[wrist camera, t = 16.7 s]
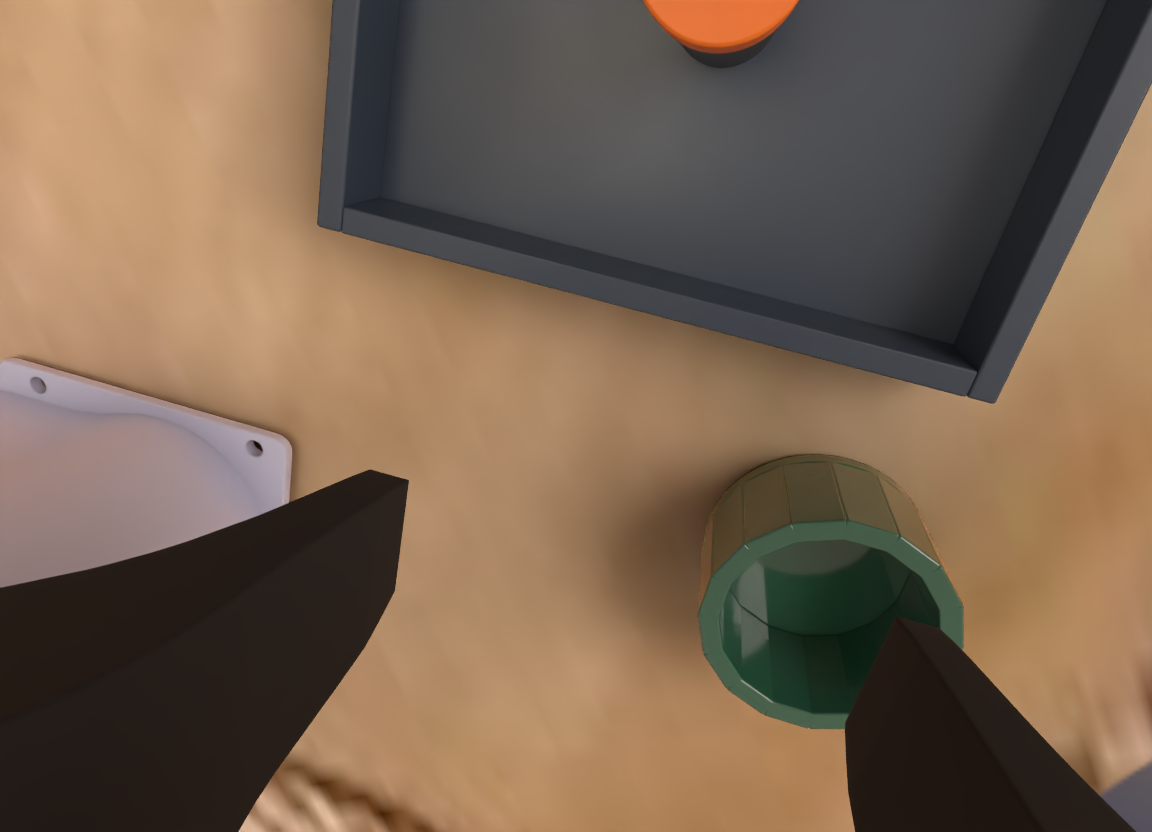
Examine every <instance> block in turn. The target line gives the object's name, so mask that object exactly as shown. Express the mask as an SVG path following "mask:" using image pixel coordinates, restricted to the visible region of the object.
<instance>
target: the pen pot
mask: <svg viewBox="0 0 1152 832" xmlns="http://www.w3.org/2000/svg"><path fill="white" fill-rule="evenodd" d="M962 604H963V603H962V601H961V599H960V597H959V595H958V593H957V590H956V588H955V586H954V584H953V582H952V580H951V578H950V575H949V573H948V571H947V569H946V567H945V565H944V563H943V560H942V558H941V556H940V554H939V552H938V550H937V548H936V545H935V543H934V541H933V539H932V537H931V535H930V533H929V531H928V529H927V527H926V526H925V524H924V522H923V520H922V518H921V516H920V514H919V512H918V509H917V508H916V506H915V505H914V503H913V502H912V500H911V499H910V497H909V496H908V495H907V494H906V493H905V492H904V490H903V489H902V488H901V487H900V486H899V485H897V484H896V483H895V482H894V481H893V480H892V479H890V478H889V477H887V476H886V475H884V474H883V473H881V472H880V471H878V470H876V469H874V468H872V467H870V466H868V465H866V464H863V463H860V462H857V461H854V460H851V459H847V458H842V457H837V456H830V455H800V456H793V457H787V458H784V459H780V460H776V461H773V462H770V463H768V464H765V465H763V466H760V467H759V468H757V469H755V470H753V471H751V472H749V473H748V474H746V475H745V476H743V477H742V478H741V479H739V480H738V481H737V482H735V483H734V484H733V485H732V486H731V487H730V488H729V489H728V490H727V491H726V492H725V493H724V495H723V496H722V497H721V498H720V500H719V501H718V503H717V504H716V506H715V508H714V509H713V511H712V513H711V516H710V518H709V520H708V523H707V527H706V531H705V537H704V542H703V545H702V554H701V570H700V585H699V601H698V622H699V629H700V636H701V643H702V650H703V653H704V656H705V657H706V659H707V660H708V662H709V663H710V665H711V666H712V668H713V669H714V671H715V672H716V674H717V675H718V677H719V678H720V680H721V681H722V683H723V684H724V686H725V687H726V688H727V689H728V690H729V691H730V692H731V693H733V694H734V695H736V696H737V697H739V698H740V699H741V700H743V701H744V702H746V703H747V704H748V705H750V706H751V707H753V708H754V709H756V710H757V711H758V712H760V713H761V714H764V715H765V716H768V717H771V718H775V719H778V720H781V721H785V722H788V723H791V724H794V725H798V726H801V727H804V728H809V727H810V729H845V722H846V720H847V718H848V716H849V713H850V711H851V709H852V707H853V705H854V703H855V701H856V699H857V697H858V695H859V692H860V690H861V688H862V686H863V684H864V682H865V680H866V678H867V676H868V674H869V671H870V669H871V667H872V665H873V663H874V661H875V659H876V657H877V655H878V653H879V650H880V648H881V646H882V644H883V642H884V640H885V638H886V636H887V634H888V632H889V629H890V627H891V625H892V623H893V621H894V619H895V617H896V616H897V617H900V618H904V619H907V620H911V621H915V622H918V623H922V624H925V625H929V626H933V627H936V628H940V629H941V630H942V631H943V632H944V633H945V634H946V635H947V636H948V637H950V638H951V639H952V640H953V641H954V642H955V643H956V644H957V645H958V646H959V647H960V649H961V650H962V649H963V646H964V607H963V605H962Z"/></svg>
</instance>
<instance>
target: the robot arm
mask: <svg viewBox="0 0 1152 832" xmlns="http://www.w3.org/2000/svg"><path fill="white" fill-rule="evenodd" d="M41 379H42V380H41ZM42 381H43V382H44V383H45V385H44V384H43V383H42ZM45 386H46V387H45ZM254 440H255V441H256V442H258V443H259V444H260V445H261V446H262V450H263V451H261V450H259V449H257V447H256V446H255V445H254ZM291 467H292V447H291V445H290V443H289V441H288V440H287V439H286V438H285V437H284V436H282V435H280V434H278V433H274V432H271V431H268V430H264V429H261V428H257V427H254V426H250V425H247V424H243V423H240V422H237V421H233V420H230V419H226V418H223V417H219V416H216V415H212V414H209V413H205V412H202V411H199V410H195V409H192V408H188V407H185V406H181V405H178V404H174V403H171V402H168V401H164V400H161V399H157V398H154V397H150V396H147V395H143V394H140V393H136V392H133V391H130V390H126V389H123V388H119V387H116V386H112V385H109V384H105V383H102V382H99V381H95V380H92V379H88V378H85V377H81V376H78V375H74V374H71V373H67V372H64V371H61V370H57V369H54V368H50V367H47V366H43V365H40V364H36V363H33V362H30V361H26V360H23V359H19V358H14V357H10V358H8V359H5V360H2V361H0V832H238V831H239V829H240V828H241V826H242V824H243V823H244V821H245V819H246V817H247V816H248V814H249V812H250V811H251V809H252V807H253V805H254V804H255V802H256V801H257V799H258V798H259V796H260V795H261V793H262V792H263V790H264V788H265V787H266V785H267V784H268V782H269V781H270V779H271V778H272V776H273V775H274V773H275V772H276V770H277V769H278V768H279V766H280V765H281V763H282V762H283V761H284V759H285V758H286V757H287V755H288V754H289V752H290V751H291V750H292V748H293V747H294V745H295V744H296V743H297V741H298V740H299V739H300V737H301V736H302V734H303V733H304V732H305V730H306V729H307V727H308V726H309V725H310V723H311V722H312V721H313V719H314V718H315V716H316V715H317V714H318V712H319V711H320V709H321V708H322V707H323V705H324V704H325V702H326V701H327V700H328V698H329V697H330V696H331V694H332V693H333V691H334V690H335V689H336V687H337V686H338V684H339V683H340V682H341V680H342V679H343V677H344V676H345V675H346V673H347V672H348V670H349V669H350V667H351V666H352V665H353V663H354V662H355V660H356V659H357V658H358V656H359V655H360V653H361V652H362V650H363V649H364V647H365V646H366V644H367V642H368V640H369V639H370V637H371V635H372V633H373V631H374V630H375V628H376V626H377V624H378V622H379V620H380V618H381V617H382V615H383V613H384V611H385V609H386V607H387V605H388V603H389V601H390V599H391V597H392V595H393V593H394V592H395V585H396V577H397V569H398V562H399V554H400V546H401V538H402V530H403V522H404V515H405V507H406V499H407V491H408V483H409V480H406V479H402V478H399V477H395V476H392V475H388V474H384V473H381V472H377V471H374V470H368V471H365V472H362V473H359V474H357V475H354V476H352V477H349V478H347V479H344V480H342V481H339V482H337V483H335V484H332V485H330V486H328V487H325V488H323V489H321V490H318V491H316V492H314V493H311V494H309V495H307V496H304V497H302V498H299V499H297V500H295V501H292V502H290V503H289V498H290V483H291ZM845 740H846V764H847V779H848V793H849V799H850V805H851V811H852V816H853V821H854V827H855V832H1136V831H1135V830H1134V829H1133V828H1132V827H1131V826H1130V825H1129V824H1128V823H1127V822H1126V821H1125V820H1124V819H1123V818H1122V817H1121V816H1119V814H1117V812H1115V811H1114V810H1113V809H1112V808H1111V807H1110V806H1109V805H1108V804H1107V803H1106V802H1105V801H1104V800H1103V799H1102V798H1101V797H1100V796H1099V795H1098V794H1097V793H1096V792H1095V791H1094V790H1093V789H1092V788H1091V787H1090V786H1089V785H1088V784H1087V783H1086V782H1085V781H1084V780H1083V779H1082V778H1081V777H1080V776H1079V775H1078V774H1077V773H1076V772H1075V771H1074V770H1073V769H1072V768H1071V767H1070V766H1069V765H1068V763H1067V762H1066V761H1065V760H1064V759H1063V758H1062V757H1061V756H1060V755H1059V754H1058V753H1057V752H1056V751H1055V750H1054V749H1053V748H1052V747H1051V746H1050V745H1049V744H1048V743H1047V742H1046V740H1045V739H1044V738H1043V737H1042V736H1041V735H1040V734H1039V733H1038V732H1037V731H1036V730H1035V729H1034V728H1033V727H1032V725H1031V724H1030V723H1029V722H1028V721H1027V720H1026V719H1025V718H1024V717H1023V716H1022V715H1021V714H1020V712H1019V711H1018V710H1017V709H1016V708H1015V707H1014V706H1013V705H1012V704H1011V703H1010V702H1009V700H1008V699H1007V698H1006V697H1005V696H1004V695H1003V694H1002V693H1001V692H1000V691H999V690H998V688H997V687H996V686H995V685H994V684H993V683H992V682H991V681H990V680H989V679H988V677H987V676H986V675H985V674H984V673H983V672H982V671H981V670H980V669H979V668H978V667H977V666H976V664H975V663H974V662H973V661H972V660H971V659H970V658H969V657H968V656H967V655H966V654H965V653H964V652H963V651H962V650H961V649H960V647H959V646H958V645H957V644H956V643H955V642H954V641H953V640H952V639H951V638H950V637H948V636H947V635H946V634H945V633H944V632H943V631H942V630H941V629H940V628H936V627H933V626H929V625H925V624H922V623H918V622H915V621H911V620H907V619H904V618H900V617H897V616H896V617H895V619H894V621H893V623H892V625H891V627H890V629H889V632H888V634H887V636H886V638H885V640H884V642H883V644H882V646H881V648H880V650H879V653H878V655H877V657H876V659H875V661H874V663H873V665H872V667H871V669H870V671H869V674H868V676H867V678H866V680H865V682H864V684H863V686H862V688H861V690H860V692H859V695H858V697H857V699H856V701H855V703H854V705H853V707H852V709H851V711H850V713H849V716H848V718H847V720H846V722H845Z"/></svg>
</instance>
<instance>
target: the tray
mask: <svg viewBox="0 0 1152 832" xmlns="http://www.w3.org/2000/svg"><path fill="white" fill-rule="evenodd" d="M1151 84H1152V0H799V2H798V3H797V5H796V6H795V8H794V9H793V11H792V12H791V13H790V15H789V16H788V17H787V18H786V20H785V21H784V22H783V23H782V24H781V25H780V26H779V27H778V28H777V29H776V31H775V33H774V34H773V36H772V37H771V39H770V40H769V42H768V43H767V45H766V46H765V47H764V48H763V49H762V50H761V51H760V52H759V53H758V54H757V55H756V56H754V57H753V58H752V59H750V60H748V61H746V62H744V63H742V64H740V65H736V66H733V67H726V68H718V67H711V66H708V65H705V64H703V63H701V62H699V61H697V60H696V59H694V58H693V57H692V56H691V55H689V54H688V53H687V51H686V50H685V49H684V48H683V47H682V45H681V44H680V43H679V42H678V41H676V40H675V39H673V38H672V37H671V36H670V35H669V34H668V33H667V32H666V31H665V30H664V29H663V28H662V27H661V26H660V25H659V24H658V22H657V21H656V20H655V19H654V18H653V16H652V15H651V14H650V12H649V11H648V9H647V7H646V6H645V4H644V2H643V0H333V5H332V20H331V34H330V48H329V63H328V77H327V91H326V106H325V120H324V134H323V149H322V163H321V178H320V192H319V206H318V221H317V224H318V226H320V227H322V228H326V229H330V230H334V231H338V232H341V231H342V233H344V234H348V235H352V236H356V237H359V238H363V239H367V240H371V241H375V242H378V243H382V244H386V245H390V246H394V247H397V248H401V249H405V250H409V251H413V252H416V253H420V254H424V255H428V256H432V257H435V258H439V259H443V260H447V261H451V262H454V263H458V264H462V265H466V266H470V267H473V268H477V269H481V270H485V271H489V272H492V273H496V274H500V275H504V276H508V277H511V278H515V279H519V280H523V281H527V282H530V283H534V284H538V285H542V286H546V287H549V288H553V289H557V290H561V291H565V292H568V293H572V294H576V295H580V296H584V297H587V298H591V299H595V300H599V301H603V302H606V303H610V304H614V305H618V306H622V307H625V308H629V309H633V310H637V311H641V312H644V313H648V314H652V315H656V316H660V317H663V318H667V319H671V320H675V321H679V322H682V323H686V324H690V325H694V326H698V327H701V328H705V329H709V330H713V331H717V332H720V333H724V334H728V335H732V336H736V337H739V338H743V339H747V340H751V341H755V342H758V343H762V344H766V345H770V346H774V347H777V348H781V349H785V350H789V351H793V352H796V353H800V354H804V355H808V356H812V357H815V358H819V359H823V360H827V361H831V362H834V363H838V364H842V365H846V366H850V367H853V368H857V369H861V370H865V371H869V372H872V373H876V374H880V375H884V376H888V377H891V378H895V379H899V380H903V381H907V382H910V383H914V384H918V385H922V386H926V387H929V388H933V389H937V390H941V391H944V392H948V393H952V394H956V395H960V396H968V397H969V398H972V399H976V400H980V401H984V402H987V403H995V402H996V400H997V398H998V396H999V394H1000V392H1001V390H1002V388H1003V386H1004V384H1005V382H1006V380H1007V378H1008V376H1009V374H1010V372H1011V370H1012V368H1013V366H1014V363H1015V361H1016V359H1017V357H1018V355H1019V353H1020V351H1021V349H1022V347H1023V345H1024V343H1025V341H1026V339H1027V337H1028V335H1029V333H1030V331H1031V329H1032V327H1033V325H1034V323H1035V321H1036V319H1037V316H1038V314H1039V312H1040V310H1041V308H1042V306H1043V304H1044V302H1045V300H1046V298H1047V296H1048V294H1049V292H1050V290H1051V288H1052V286H1053V284H1054V282H1055V280H1056V278H1057V276H1058V274H1059V272H1060V269H1061V267H1062V265H1063V263H1064V261H1065V259H1066V257H1067V255H1068V253H1069V251H1070V249H1071V247H1072V245H1073V243H1074V241H1075V239H1076V237H1077V235H1078V233H1079V231H1080V229H1081V227H1082V225H1083V222H1084V220H1085V218H1086V216H1087V214H1088V212H1089V210H1090V208H1091V206H1092V204H1093V202H1094V200H1095V198H1096V196H1097V194H1098V192H1099V190H1100V188H1101V186H1102V184H1103V182H1104V180H1105V178H1106V175H1107V173H1108V171H1109V169H1110V167H1111V165H1112V163H1113V161H1114V159H1115V157H1116V155H1117V153H1118V151H1119V149H1120V147H1121V145H1122V143H1123V141H1124V139H1125V137H1126V135H1127V133H1128V131H1129V128H1130V126H1131V124H1132V122H1133V120H1134V118H1135V116H1136V114H1137V112H1138V110H1139V108H1140V106H1141V104H1142V102H1143V100H1144V98H1145V96H1146V94H1147V92H1148V90H1149V88H1150V86H1151Z"/></svg>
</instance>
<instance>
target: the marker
mask: <svg viewBox="0 0 1152 832" xmlns="http://www.w3.org/2000/svg"><path fill="white" fill-rule="evenodd" d="M643 2H644V4H645V6H646V7H647V9H648V11H649V12H650V14H651V15H652V16H653V18H654V19H655V20H656V21H657V22H658V24H659V25H660V26H661V27H662V28H663V29H664V30H665V31H666V32H667V33H668V34H669V35H670V36H671V37H672V38H673V39H675V40H676V41H678V42H679V43H680V44H681V45H682V47H683V48H684V49H685V50H686V51H687V53H688V54H689V55H691V56H692V57H693V58H694V59H696V60H697V61H699V62H701V63H703V64H705V65H708V66H711V67H718V68H726V67H733V66H736V65H740V64H742V63H744V62H746V61H748V60H750V59H752V58H753V57H754V56H756V55H757V54H758V53H759V52H760V51H761V50H762V49H763V48H764V47H765V46H766V45H767V43H768V42H769V40H770V39H771V37H772V36H773V34H774V33H775V31H776V29H777V28H778V27H779V26H780V25H781V24H782V23H783V22H784V21H785V20H786V18H787V17H788V16H789V15H790V13H791V12H792V11H793V9H794V8H795V6H796V5H797V3H798V2H799V0H643Z"/></svg>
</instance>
